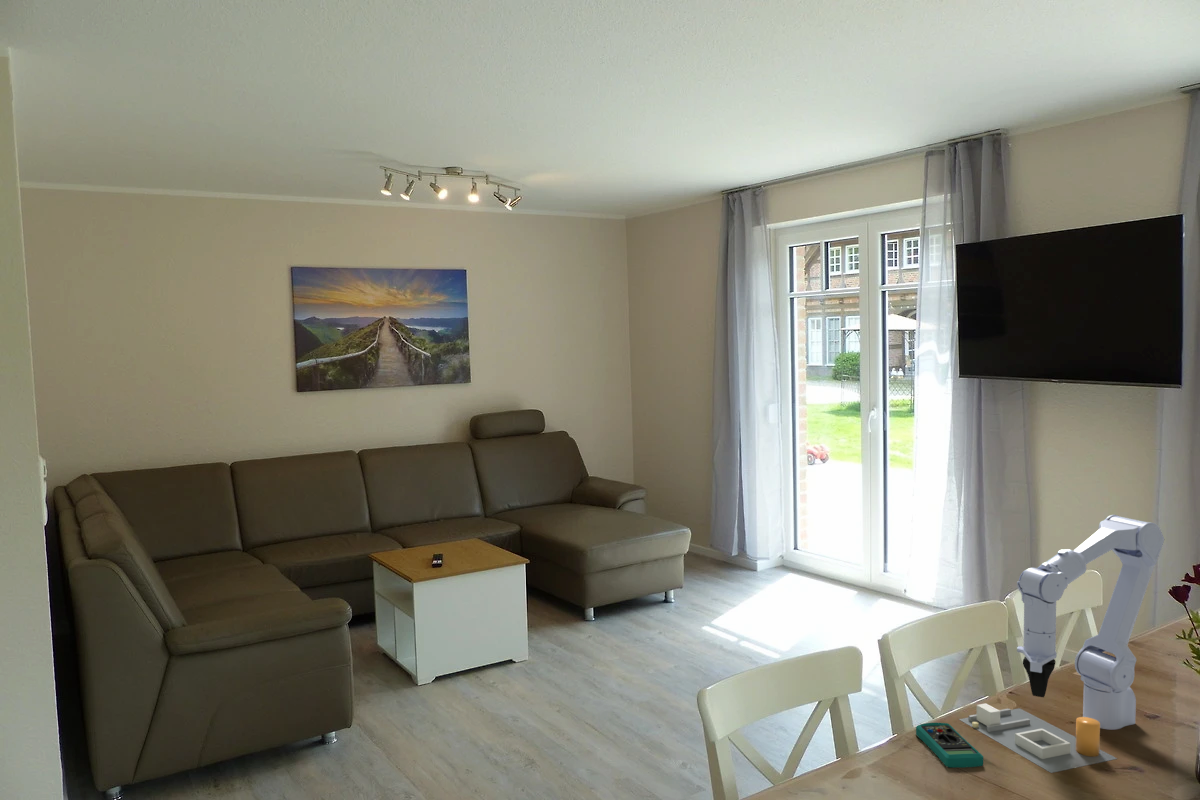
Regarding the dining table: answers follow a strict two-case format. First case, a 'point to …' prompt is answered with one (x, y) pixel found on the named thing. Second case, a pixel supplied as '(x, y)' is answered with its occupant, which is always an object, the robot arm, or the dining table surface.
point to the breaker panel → (1036, 740)
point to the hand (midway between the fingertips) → (1038, 695)
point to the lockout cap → (1087, 736)
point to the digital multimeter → (949, 745)
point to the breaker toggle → (987, 714)
